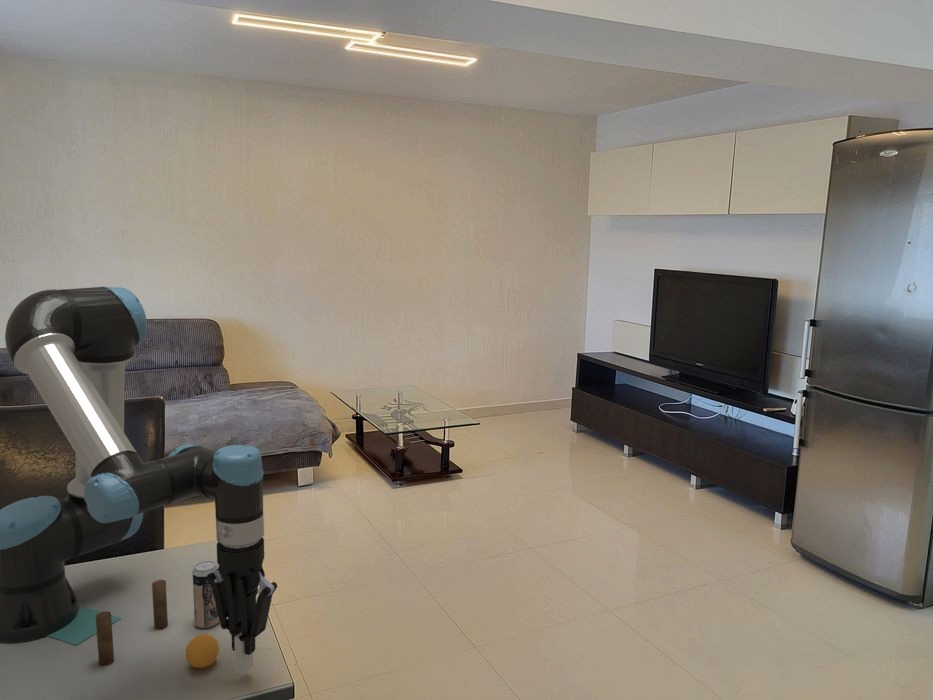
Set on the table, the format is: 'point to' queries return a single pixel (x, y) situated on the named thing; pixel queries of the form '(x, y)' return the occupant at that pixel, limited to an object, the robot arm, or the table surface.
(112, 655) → the post
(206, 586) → the beer can
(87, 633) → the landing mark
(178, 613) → the table surface
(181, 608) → the table surface
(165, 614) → the post
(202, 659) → the ball
